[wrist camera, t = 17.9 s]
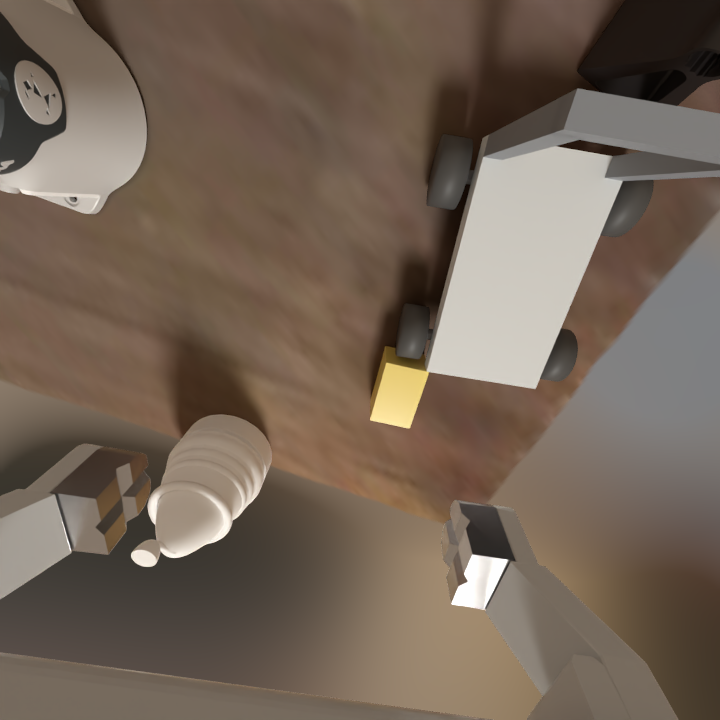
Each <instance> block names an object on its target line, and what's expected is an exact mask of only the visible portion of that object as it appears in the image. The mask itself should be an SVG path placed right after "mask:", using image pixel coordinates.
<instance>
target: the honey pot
mask: <svg viewBox="0 0 720 720" xmlns="http://www.w3.org/2000/svg"><path fill="white" fill-rule="evenodd" d="M271 461H272V451H271V447H270V444H269V442H268V440H267V439H266V437H265V435H264V434H263V433H262V432H261V431H260V430H259V429H258V428H257V427H256V426H254V425H252V424H251V423H249V422H248V421H246V420H244V419H241V418H238V417H236V416H231V415H224V414H219V415H210V416H207V417H204V418H201V419H200V420H198V421H197V422H195V423H194V424H193V425H192V426H191V427H190V429H189V430H188V431H187V432H186V434H185V435H184V436H183V437H182V439H181V440H180V441H179V443H178V444H177V445H176V446H175V448H174V449H173V450H172V452H171V453H170V455H169V458H168V462H167V467H166V471H165V474H164V475H163V478H162V483H161V486H160V487H158V488H157V489H155V490H154V492H153V493H152V494H151V496H150V498H149V501H148V513H149V515H150V518H151V520H152V522H153V523H154V524H155V525H156V526H155V527H156V528H155V529H156V539H157V540H147V541H145V542H143V543H141V544H140V545H139V546H137V547H136V548H135V550H134V551H133V552H132V554H131V557H132V559H133V561H134V562H136V563H137V564H139V565H141V566H145V567H150V566H153V565H155V564H156V562H157V561H158V558H159V555H160V550H161V552H162V553H163V554H164V555H166V556H167V557H172V558H178V557H182V556H185V555H188V554H190V553H192V552H194V551H196V550H197V549H199V548H200V547H202V546H203V545H205V544H209V543H213V542H216V541H217V540H219V539H221V538H223V537H224V536H225V535H226V534H227V533H228V532H229V530H230V528H231V525H232V520H234V519H235V518H237V517H238V516H239V515H240V514H241V513H242V512H243V510H244V509H245V507H247V505H248V504H250V503H251V502H252V501H253V500H254V499H255V498H256V496H257V495H258V494H259V491H260V489H261V486H262V484H263V481H264V479H265V476H266V474H267V471H268V469H269V466H270V464H271ZM158 501H159V502H158Z"/></svg>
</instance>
